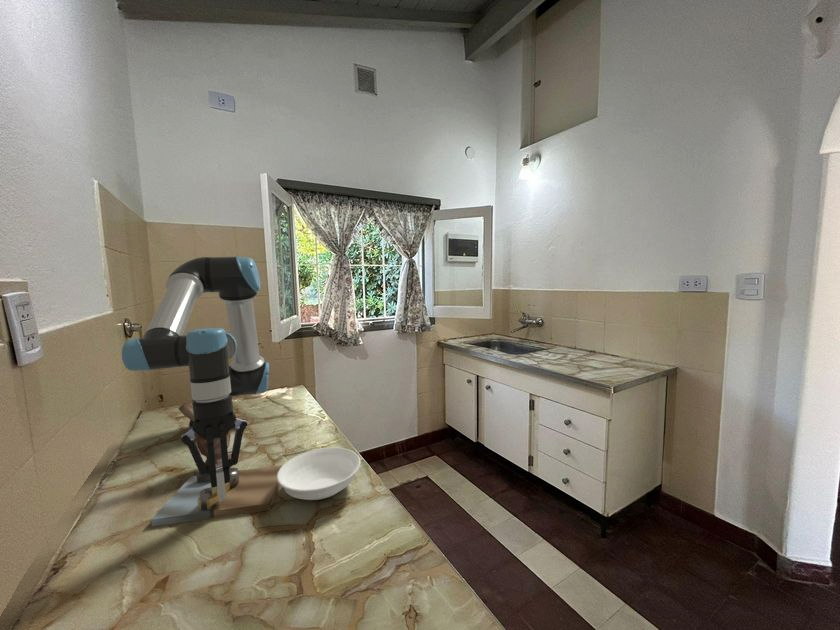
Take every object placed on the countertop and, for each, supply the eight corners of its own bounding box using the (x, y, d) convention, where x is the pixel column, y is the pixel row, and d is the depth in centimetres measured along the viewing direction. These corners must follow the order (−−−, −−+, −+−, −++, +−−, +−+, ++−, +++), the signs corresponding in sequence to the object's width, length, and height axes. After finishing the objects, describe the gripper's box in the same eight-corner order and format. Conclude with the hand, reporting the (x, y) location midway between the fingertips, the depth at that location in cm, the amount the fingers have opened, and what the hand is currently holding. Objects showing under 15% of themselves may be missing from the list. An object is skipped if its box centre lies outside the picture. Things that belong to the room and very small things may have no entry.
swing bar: (225, 479, 86) (224, 466, 85) (242, 478, 86) (241, 465, 85) (193, 510, 74) (192, 494, 74) (213, 509, 74) (212, 494, 74)
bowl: (317, 530, 69) (315, 501, 68) (260, 500, 80) (258, 475, 79) (377, 481, 86) (376, 457, 85) (324, 462, 96) (323, 441, 96)
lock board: (191, 482, 89) (190, 465, 88) (286, 470, 93) (284, 454, 92) (151, 526, 72) (149, 506, 71) (269, 510, 76) (267, 490, 76)
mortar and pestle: (186, 483, 88) (178, 410, 86) (184, 470, 95) (177, 402, 93) (235, 468, 95) (229, 400, 93) (230, 456, 102) (225, 393, 100)
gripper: (242, 387, 81) (250, 479, 83) (176, 399, 74) (187, 500, 75) (247, 394, 75) (255, 494, 77) (176, 408, 68) (187, 518, 69)
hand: (221, 497), depth 76 cm, fingers closed
